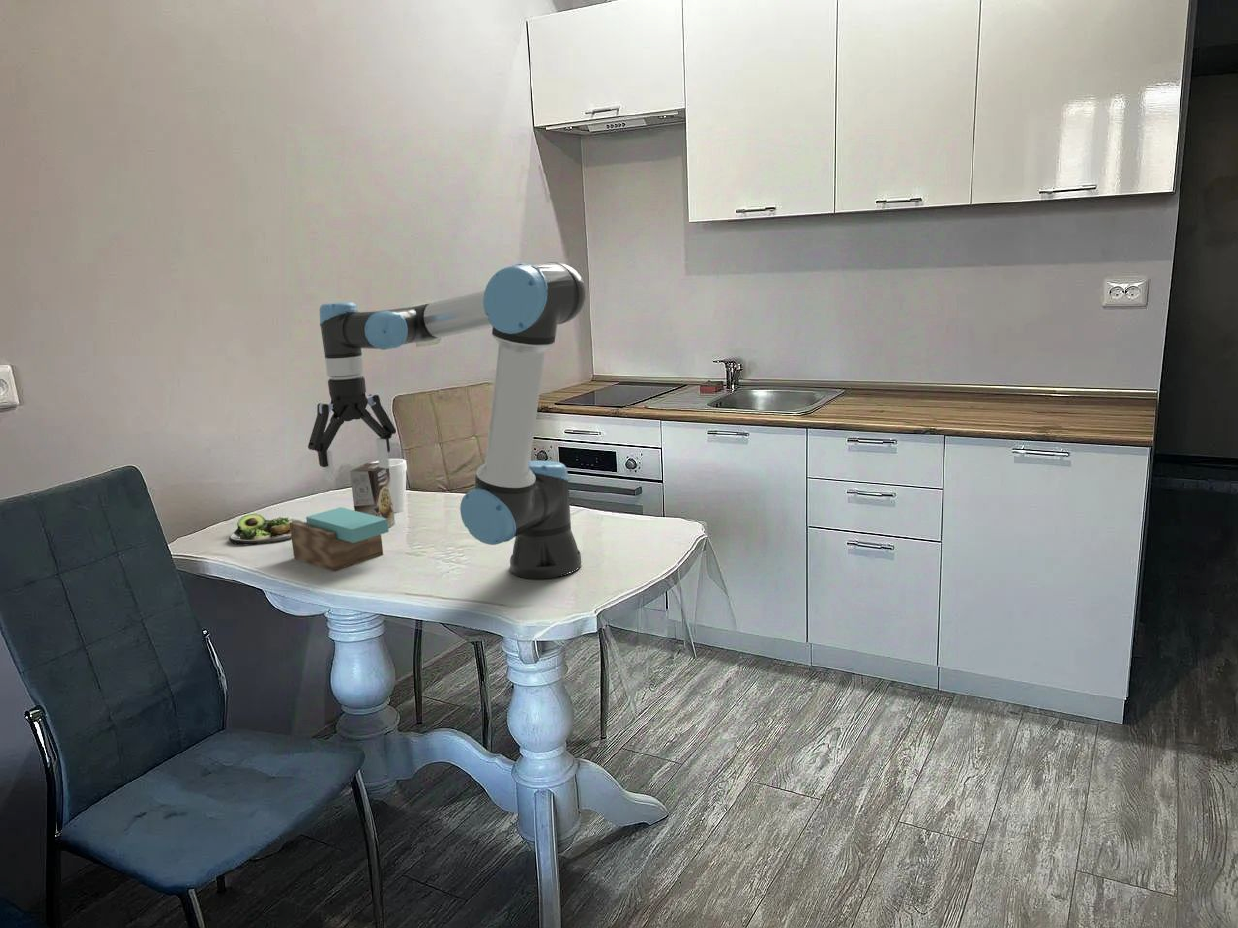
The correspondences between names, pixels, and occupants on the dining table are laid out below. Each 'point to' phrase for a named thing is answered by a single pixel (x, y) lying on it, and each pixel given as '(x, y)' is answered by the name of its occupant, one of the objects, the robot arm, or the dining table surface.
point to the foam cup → (397, 483)
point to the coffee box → (373, 491)
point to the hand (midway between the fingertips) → (357, 474)
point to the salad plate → (261, 529)
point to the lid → (349, 524)
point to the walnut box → (331, 547)
